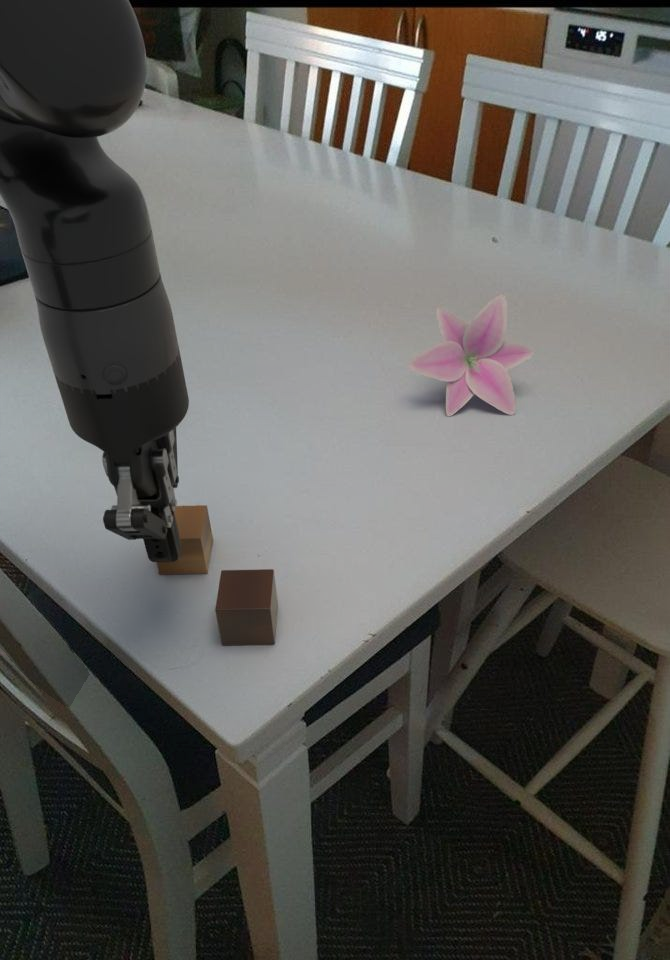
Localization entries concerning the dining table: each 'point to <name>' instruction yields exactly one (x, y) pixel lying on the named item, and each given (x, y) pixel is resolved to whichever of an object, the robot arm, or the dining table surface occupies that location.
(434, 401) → the dining table surface
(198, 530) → the oak block
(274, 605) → the walnut block
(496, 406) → the lily
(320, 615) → the dining table surface
